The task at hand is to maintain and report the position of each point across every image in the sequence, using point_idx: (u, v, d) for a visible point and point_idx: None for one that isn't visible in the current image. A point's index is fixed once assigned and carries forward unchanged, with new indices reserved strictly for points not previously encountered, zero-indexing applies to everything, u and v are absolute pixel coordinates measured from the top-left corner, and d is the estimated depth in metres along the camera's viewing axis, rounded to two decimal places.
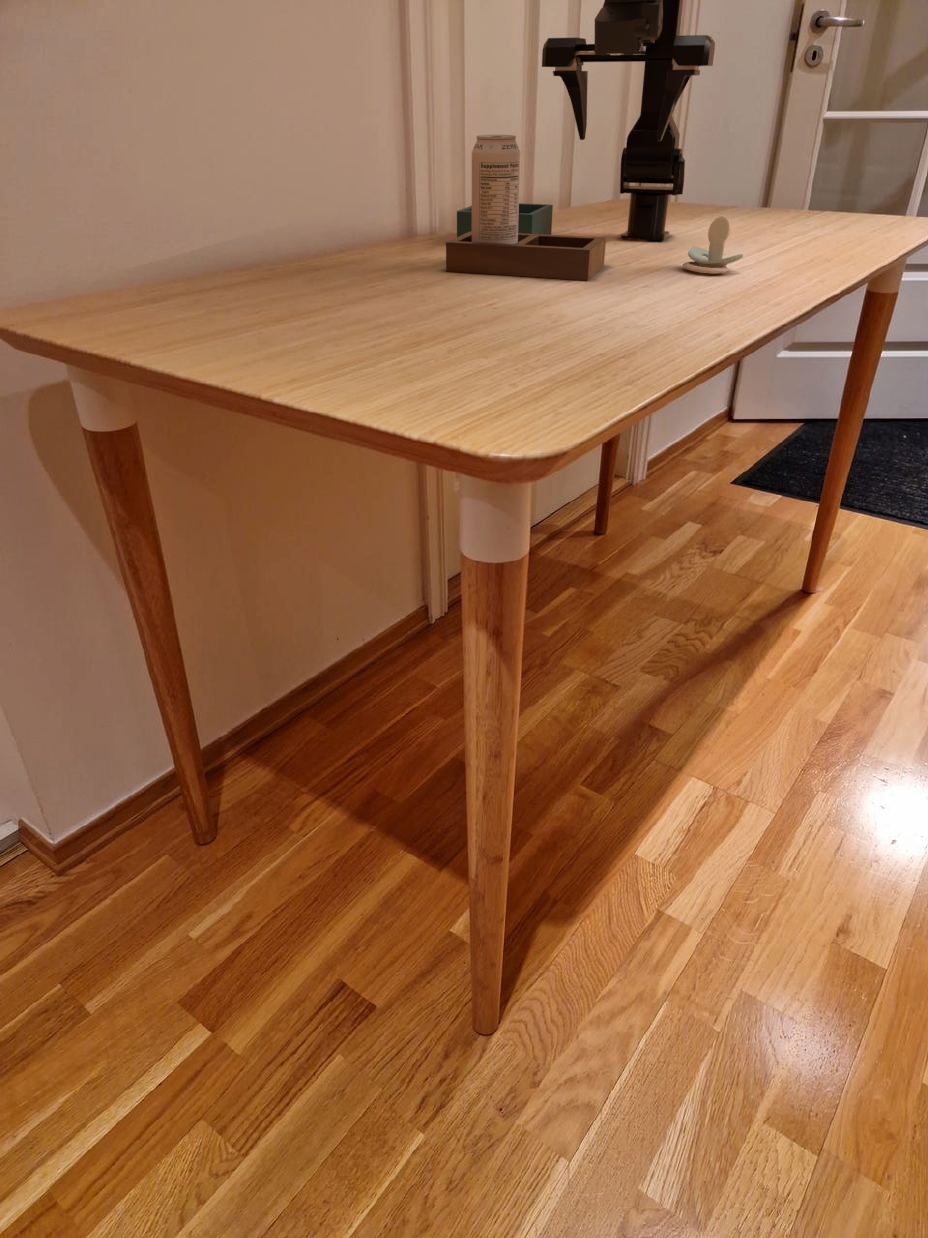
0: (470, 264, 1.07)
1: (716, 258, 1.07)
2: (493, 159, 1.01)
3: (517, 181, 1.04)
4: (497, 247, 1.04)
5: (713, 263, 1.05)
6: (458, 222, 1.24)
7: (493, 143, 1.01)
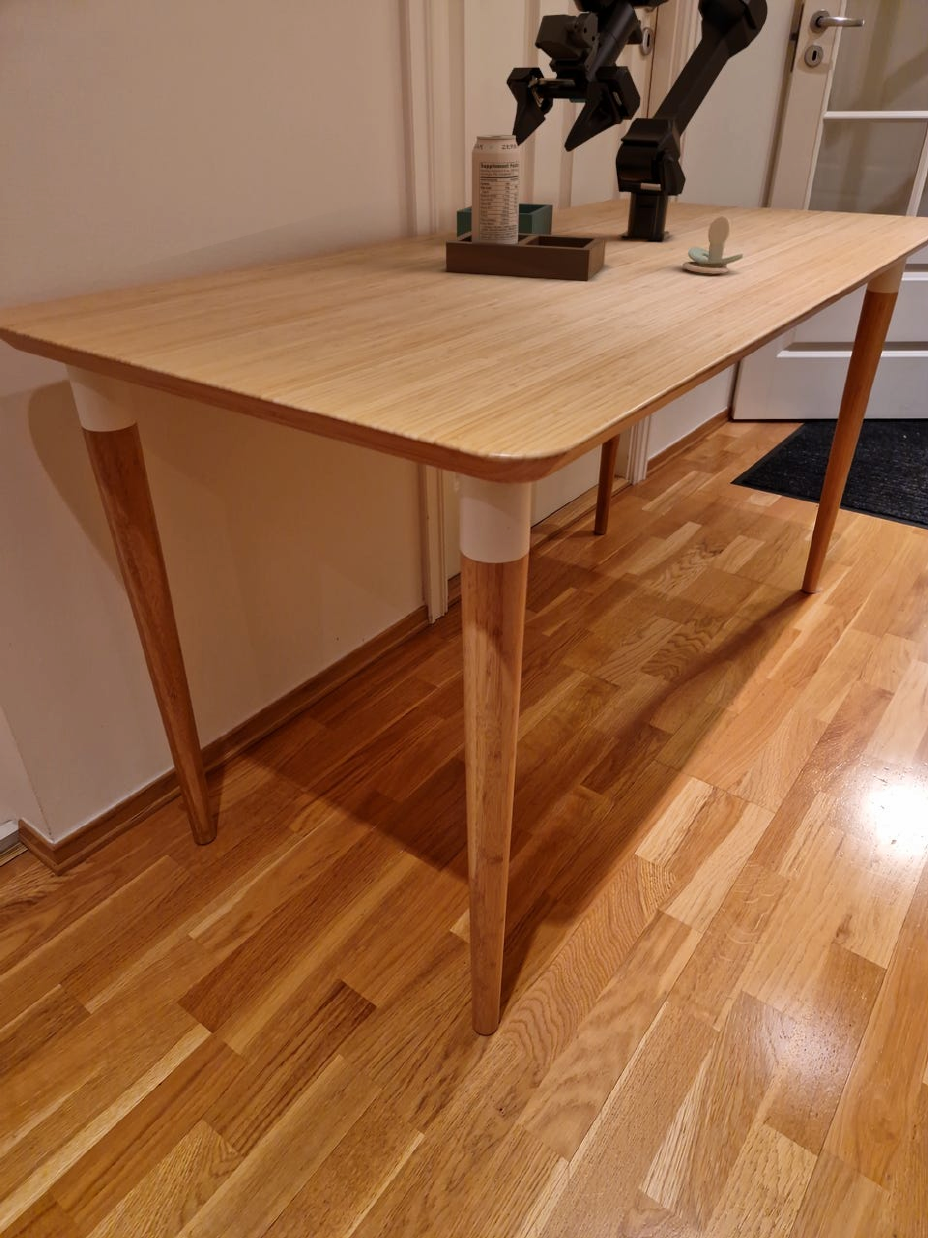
0: (470, 264, 1.07)
1: (716, 258, 1.07)
2: (493, 159, 1.01)
3: (517, 181, 1.04)
4: (497, 247, 1.04)
5: (713, 263, 1.05)
6: (458, 222, 1.24)
7: (493, 143, 1.01)
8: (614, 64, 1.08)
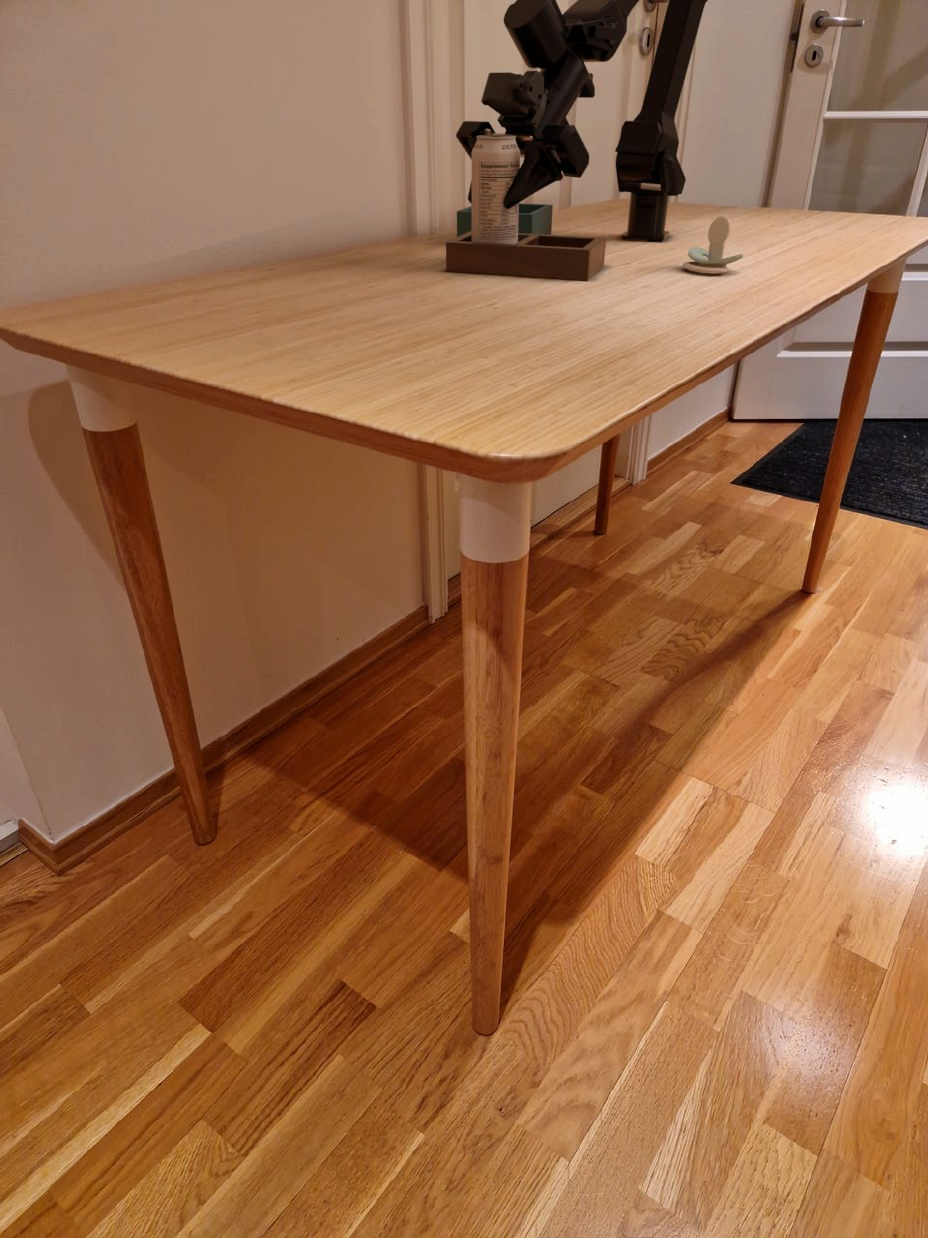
0: (470, 264, 1.07)
1: (716, 258, 1.07)
2: (493, 159, 1.01)
3: None
4: (497, 247, 1.04)
5: (713, 263, 1.05)
6: (458, 222, 1.24)
7: (493, 143, 1.01)
8: (564, 119, 1.06)
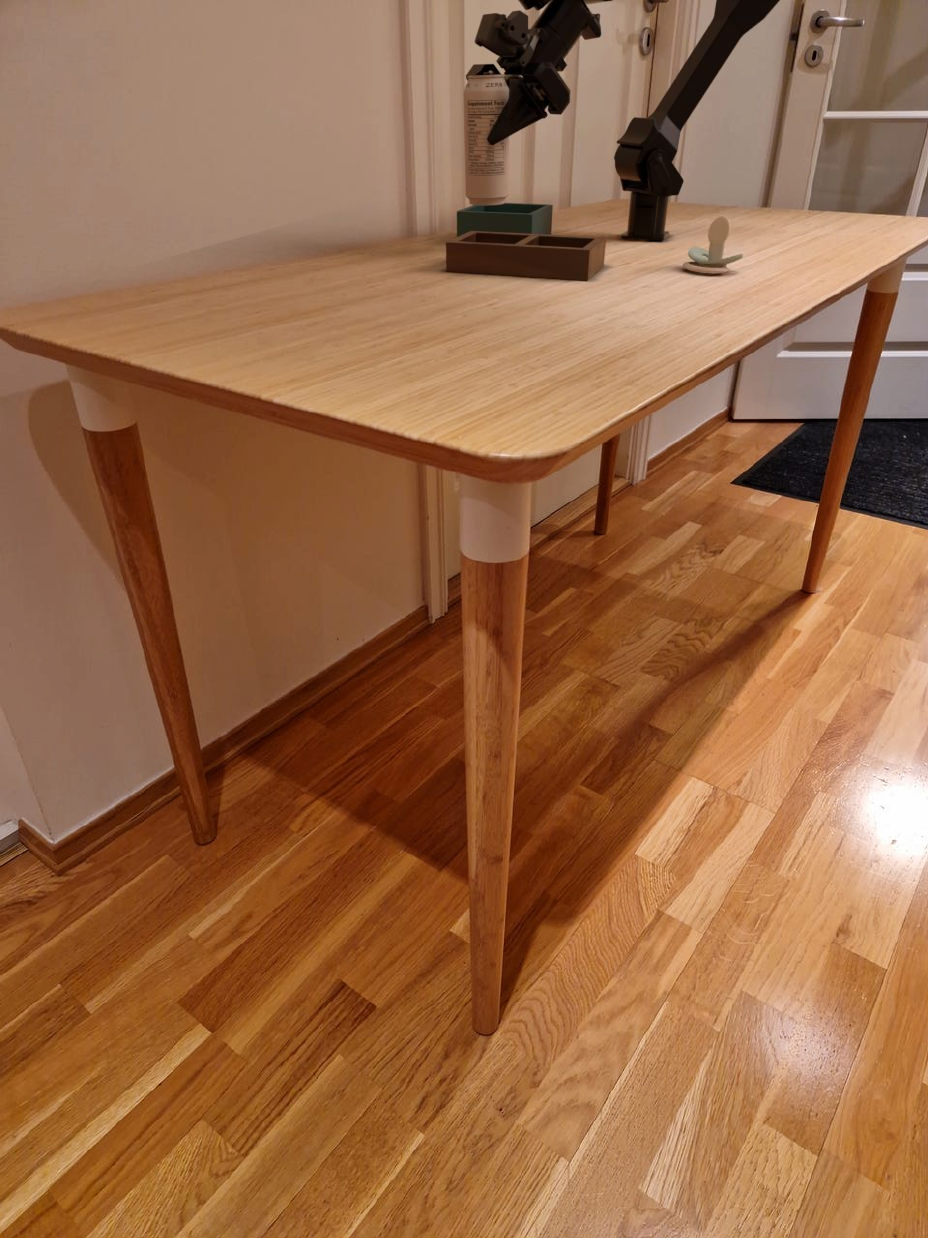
0: (470, 264, 1.07)
1: (716, 258, 1.07)
2: (477, 97, 1.08)
3: None
4: (497, 247, 1.04)
5: (713, 263, 1.05)
6: (458, 222, 1.24)
7: (478, 81, 1.07)
8: (561, 59, 1.10)
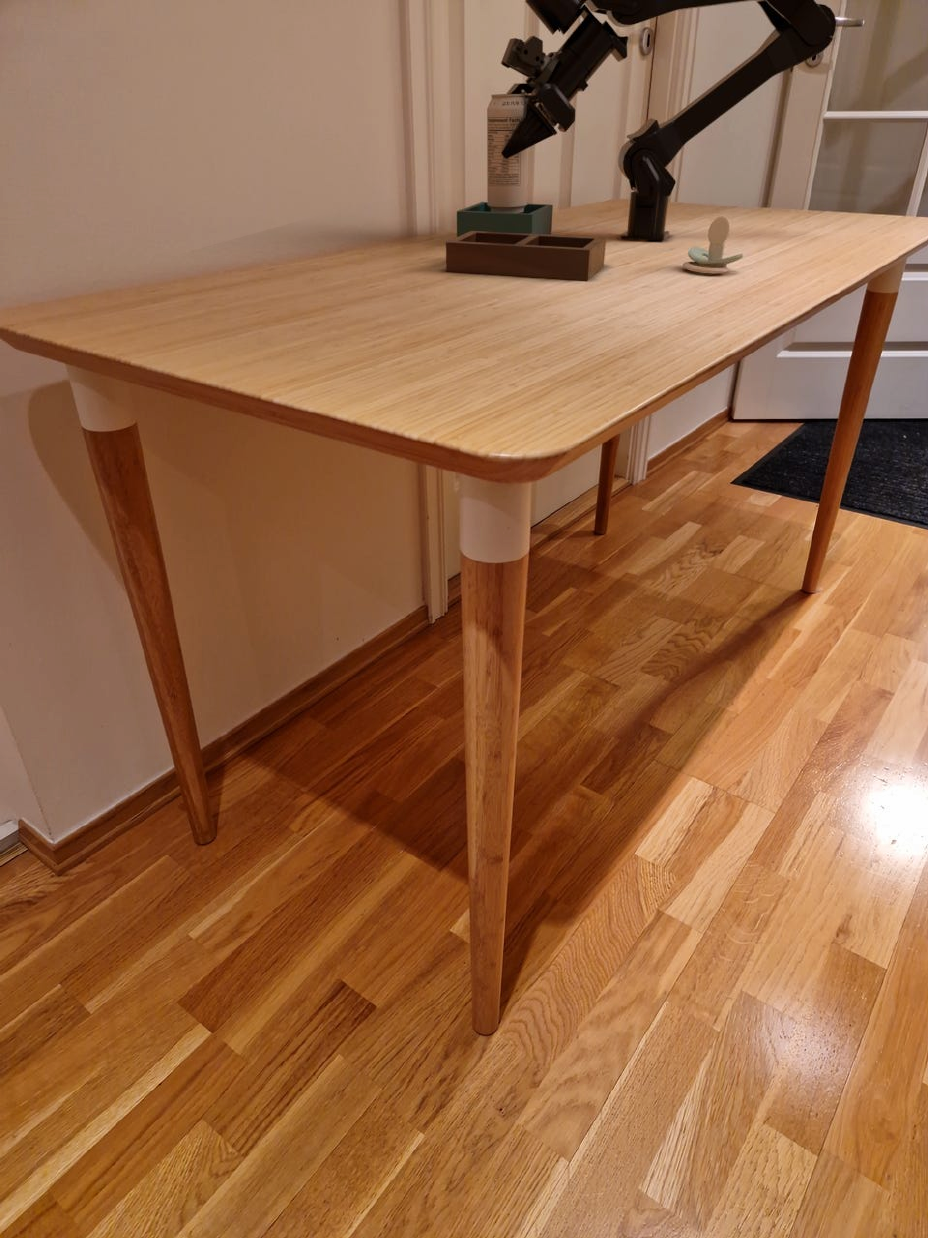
0: (470, 264, 1.07)
1: (716, 258, 1.07)
2: (494, 114, 1.18)
3: None
4: (497, 247, 1.04)
5: (713, 263, 1.05)
6: (458, 222, 1.24)
7: (496, 100, 1.17)
8: (581, 80, 1.17)
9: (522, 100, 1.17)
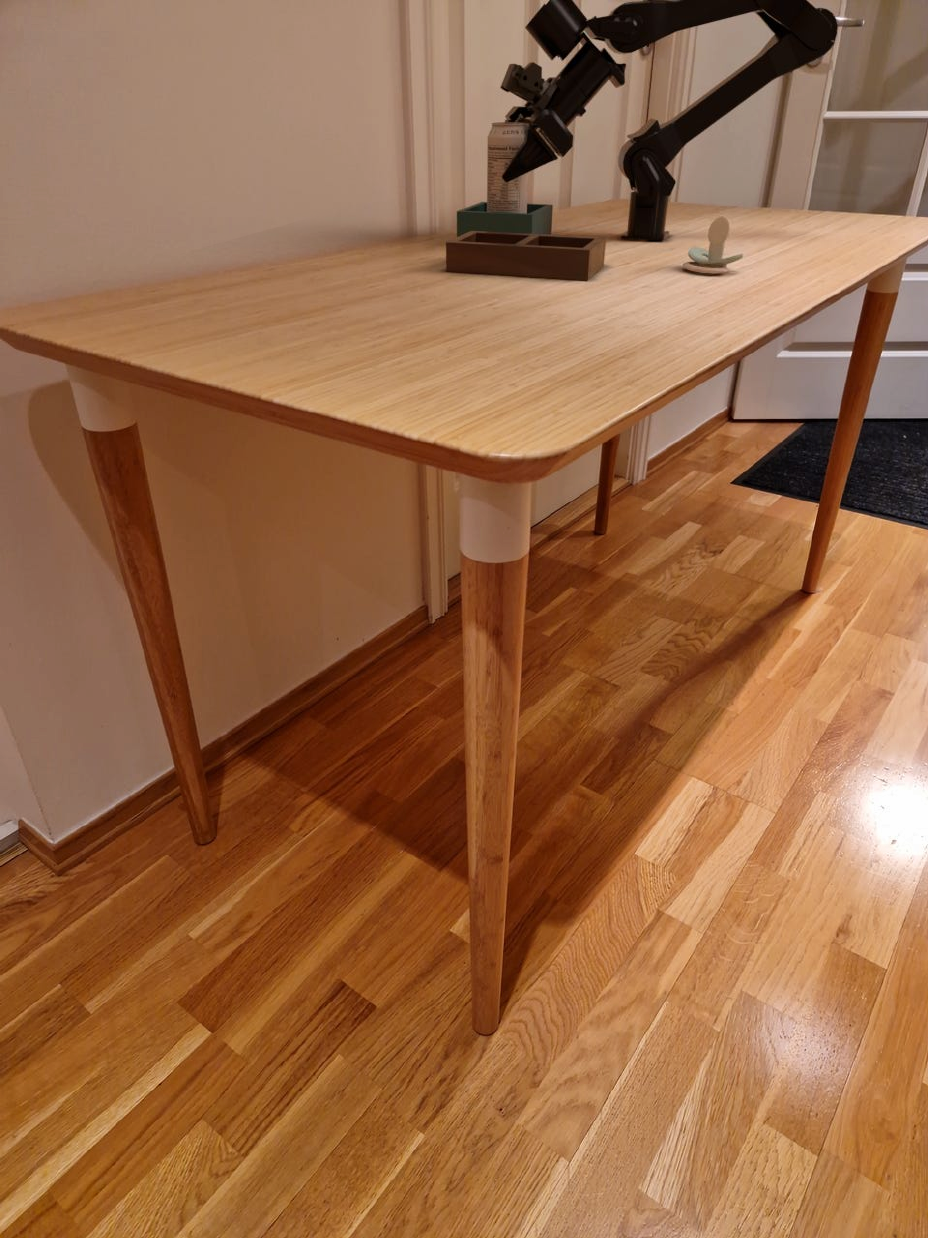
0: (470, 264, 1.07)
1: (716, 258, 1.07)
2: (494, 142, 1.19)
3: None
4: (497, 247, 1.04)
5: (713, 263, 1.05)
6: (458, 222, 1.24)
7: (497, 129, 1.19)
8: (579, 105, 1.18)
9: (522, 129, 1.19)
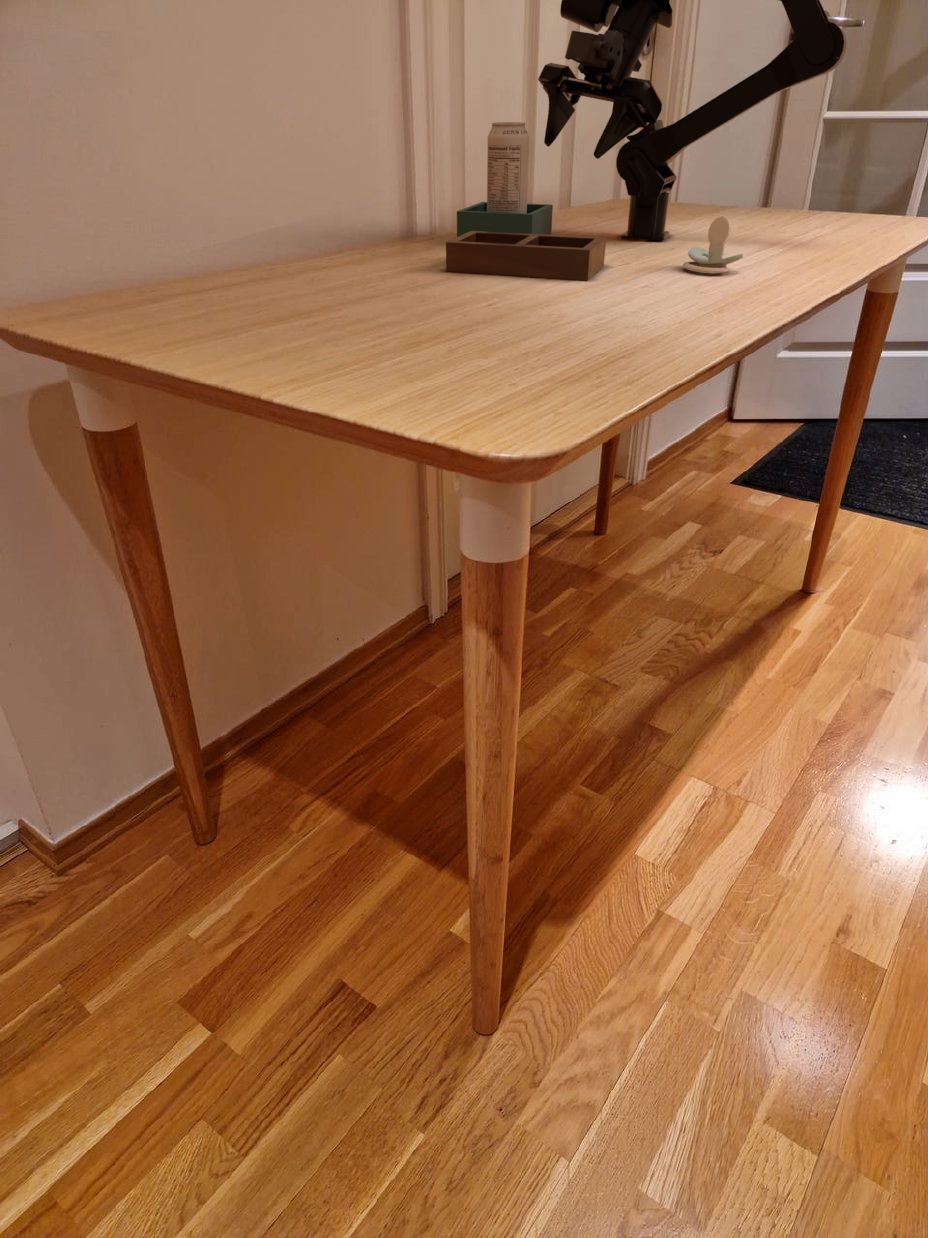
0: (470, 264, 1.07)
1: (716, 258, 1.07)
2: (494, 142, 1.19)
3: (518, 162, 1.20)
4: (497, 247, 1.04)
5: (713, 263, 1.05)
6: (458, 222, 1.24)
7: (497, 129, 1.19)
8: (637, 61, 1.18)
9: (522, 129, 1.19)
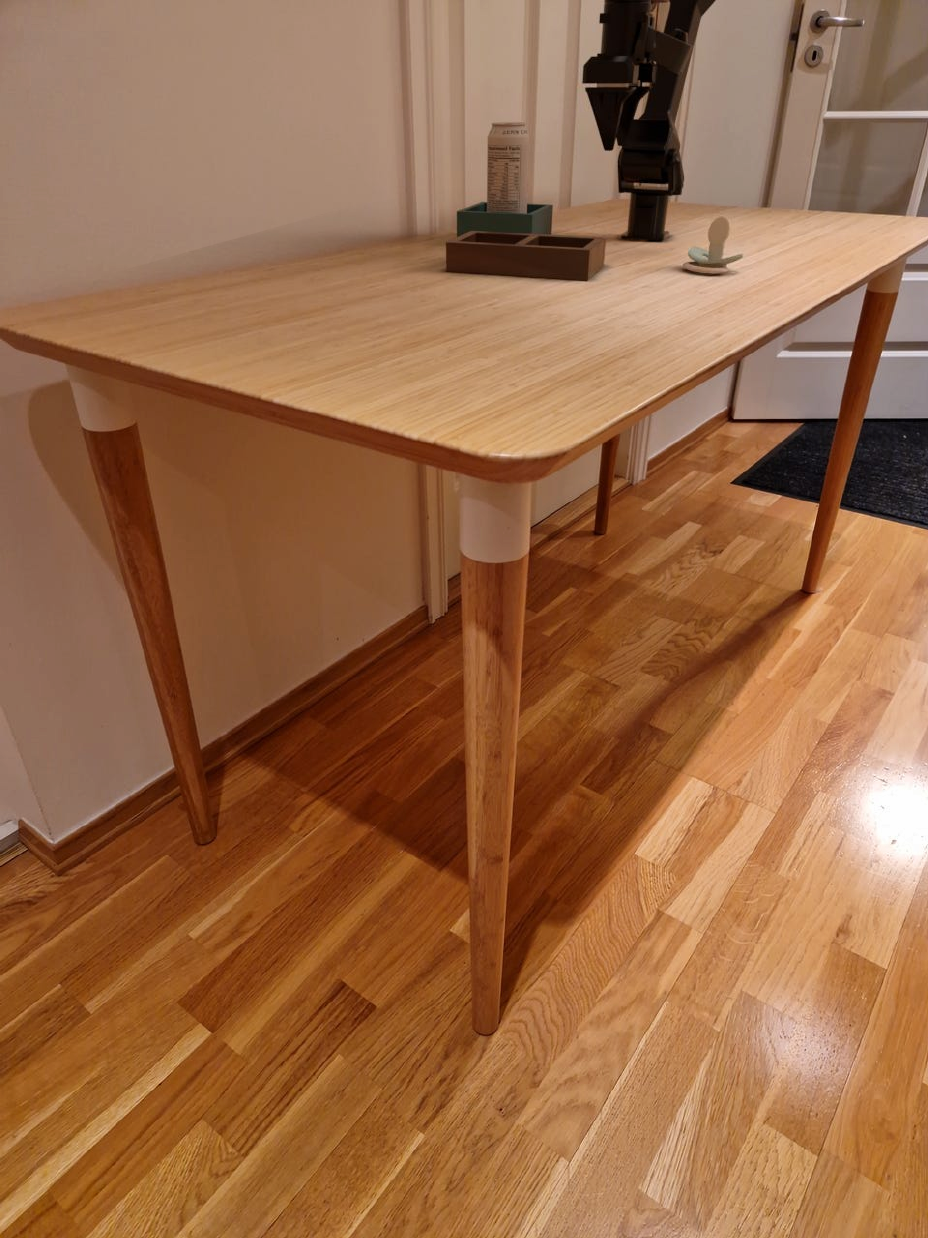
0: (470, 264, 1.07)
1: (716, 258, 1.07)
2: (495, 142, 1.19)
3: (518, 162, 1.20)
4: (497, 247, 1.04)
5: (713, 263, 1.05)
6: (458, 222, 1.24)
7: (497, 129, 1.19)
8: None
9: (522, 129, 1.19)
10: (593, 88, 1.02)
